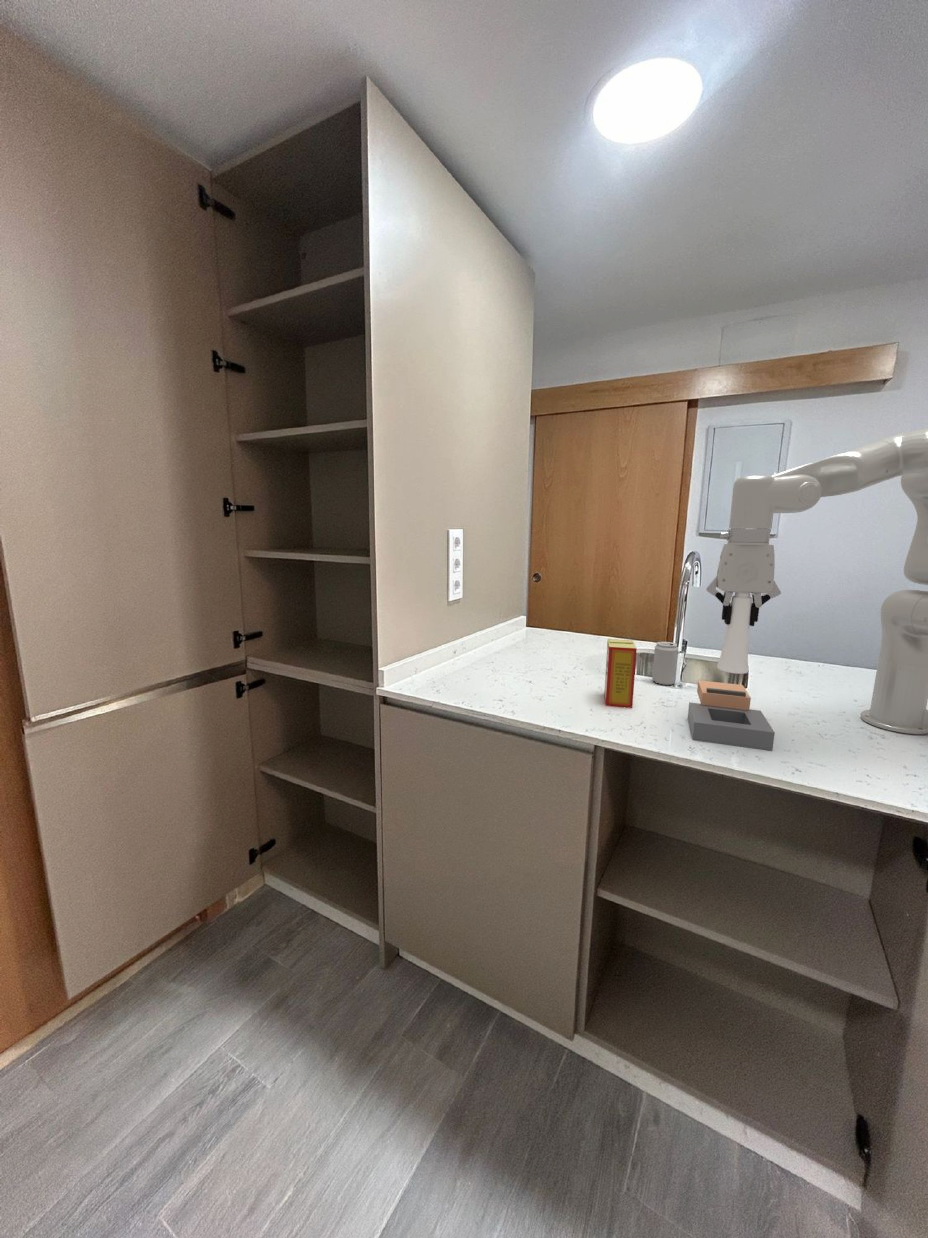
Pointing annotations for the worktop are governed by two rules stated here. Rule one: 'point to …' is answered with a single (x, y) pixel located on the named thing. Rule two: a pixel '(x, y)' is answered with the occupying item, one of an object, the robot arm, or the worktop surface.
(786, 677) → the worktop surface
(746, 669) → the cosmetic bottle
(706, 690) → the orange slotted box
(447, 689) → the worktop surface
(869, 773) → the worktop surface
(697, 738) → the socket block
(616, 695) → the baking soda box
